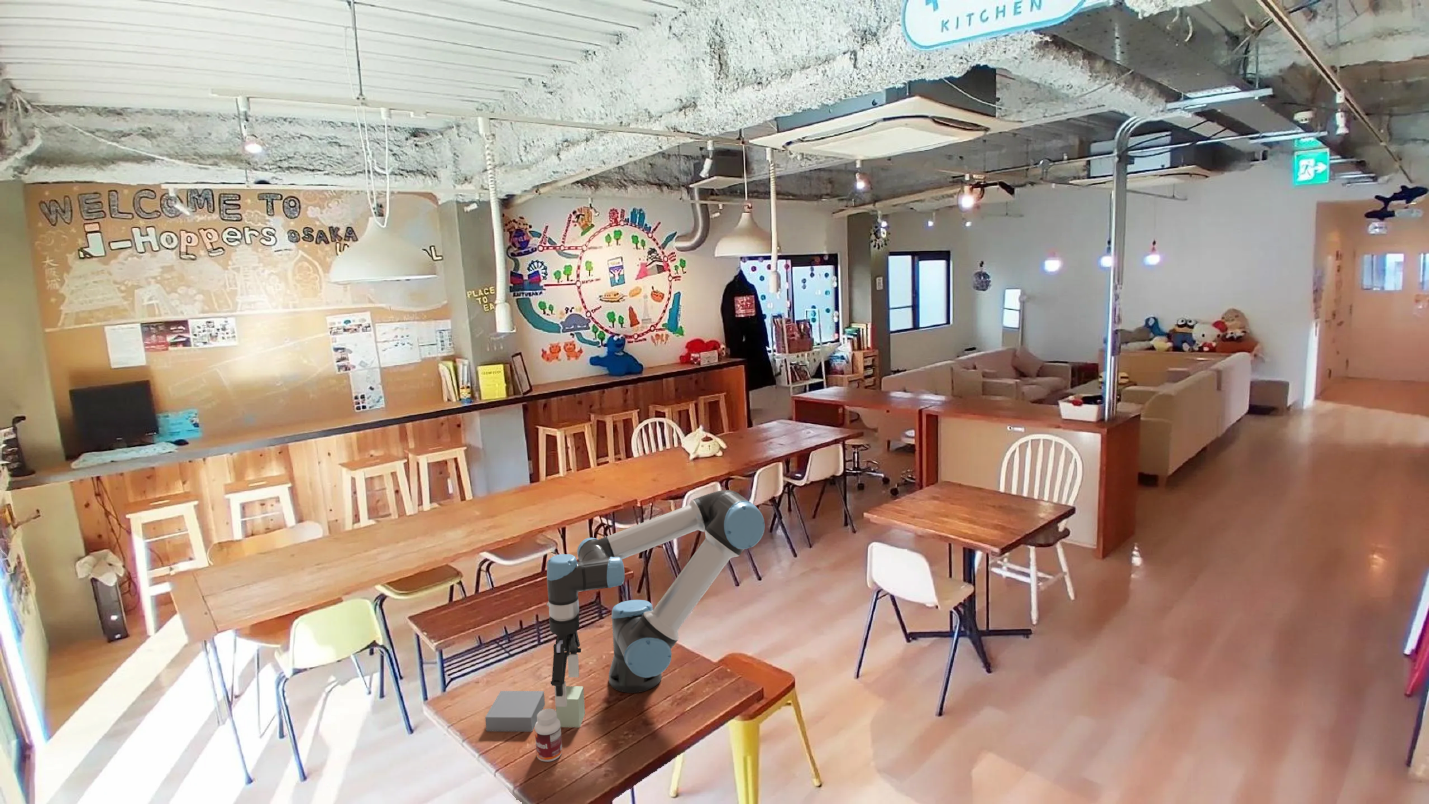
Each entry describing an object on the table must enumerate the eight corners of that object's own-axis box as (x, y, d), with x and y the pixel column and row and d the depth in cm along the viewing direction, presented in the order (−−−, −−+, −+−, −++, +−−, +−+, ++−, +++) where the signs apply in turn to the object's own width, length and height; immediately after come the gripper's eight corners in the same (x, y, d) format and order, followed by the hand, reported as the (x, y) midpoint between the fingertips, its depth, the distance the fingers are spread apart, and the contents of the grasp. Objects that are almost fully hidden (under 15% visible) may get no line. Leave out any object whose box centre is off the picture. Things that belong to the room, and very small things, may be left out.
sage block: (585, 713, 197) (583, 686, 196) (579, 727, 192) (578, 699, 190) (562, 713, 198) (561, 686, 196) (557, 727, 192) (555, 699, 190)
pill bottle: (531, 755, 181) (528, 715, 179) (551, 743, 185) (549, 703, 183) (547, 766, 177) (544, 724, 175) (567, 753, 181) (564, 712, 179)
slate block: (544, 704, 202) (543, 691, 201) (532, 731, 190) (531, 717, 189) (501, 704, 203) (500, 690, 202) (486, 731, 191) (485, 717, 190)
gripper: (561, 593, 202) (565, 665, 205) (535, 638, 177) (540, 718, 181) (589, 594, 201) (592, 665, 205) (566, 638, 177) (570, 719, 180)
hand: (567, 690), depth 193 cm, fingers open, 13 cm apart
